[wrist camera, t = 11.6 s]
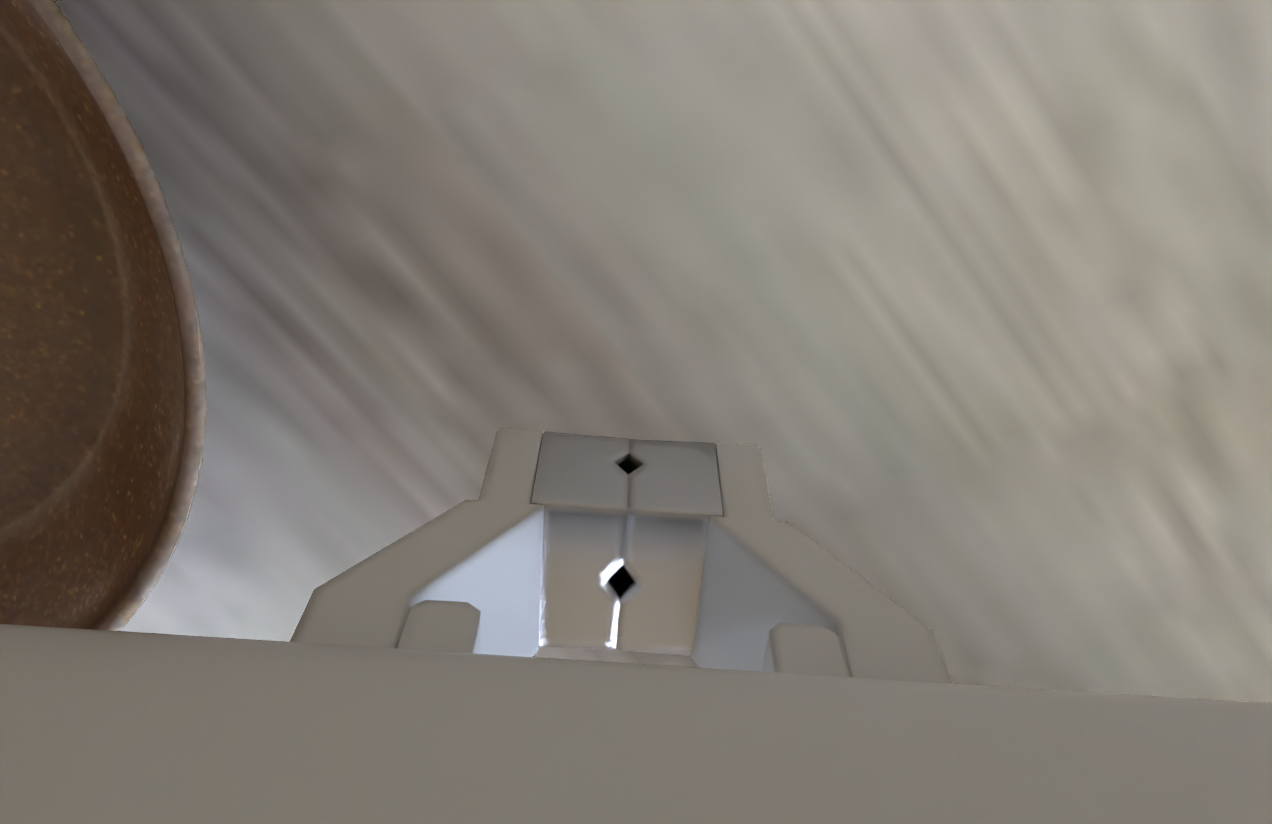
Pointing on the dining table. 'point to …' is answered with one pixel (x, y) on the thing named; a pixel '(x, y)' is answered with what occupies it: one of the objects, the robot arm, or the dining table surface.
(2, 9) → the saucer
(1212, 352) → the dining table surface
